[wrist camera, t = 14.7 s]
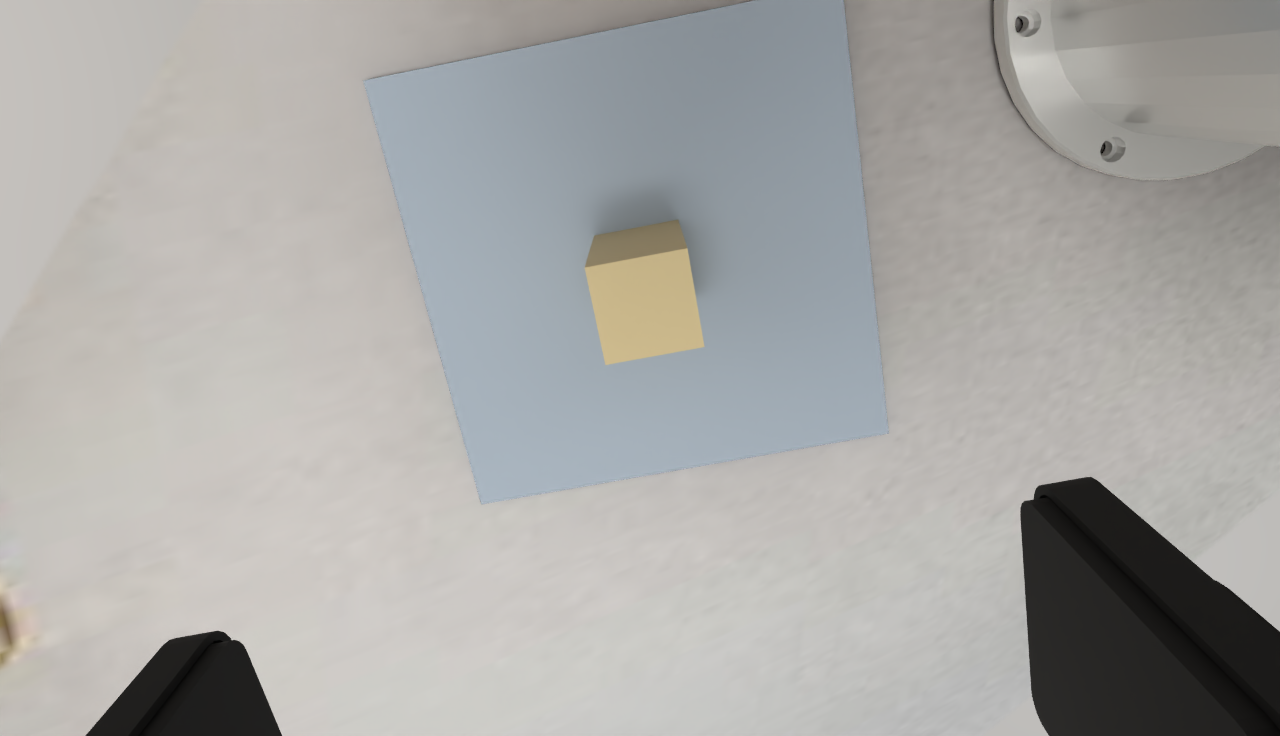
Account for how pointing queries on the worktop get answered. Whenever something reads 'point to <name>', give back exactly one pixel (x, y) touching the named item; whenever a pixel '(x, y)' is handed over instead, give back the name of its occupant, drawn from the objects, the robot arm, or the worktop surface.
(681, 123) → the lid
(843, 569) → the worktop surface
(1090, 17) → the robot arm
